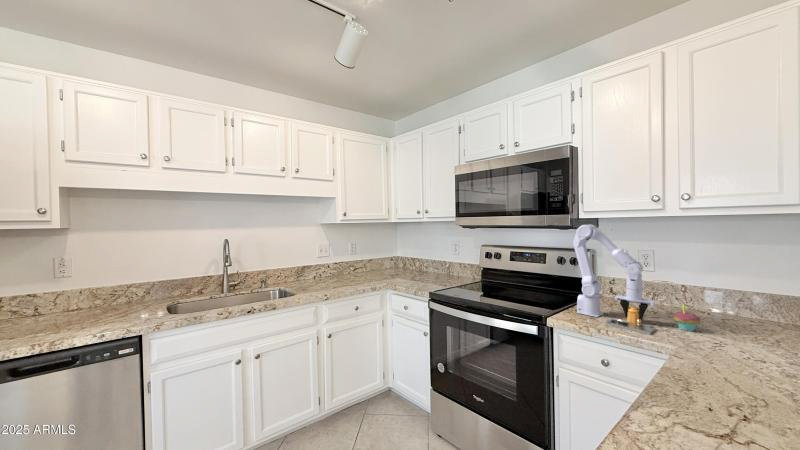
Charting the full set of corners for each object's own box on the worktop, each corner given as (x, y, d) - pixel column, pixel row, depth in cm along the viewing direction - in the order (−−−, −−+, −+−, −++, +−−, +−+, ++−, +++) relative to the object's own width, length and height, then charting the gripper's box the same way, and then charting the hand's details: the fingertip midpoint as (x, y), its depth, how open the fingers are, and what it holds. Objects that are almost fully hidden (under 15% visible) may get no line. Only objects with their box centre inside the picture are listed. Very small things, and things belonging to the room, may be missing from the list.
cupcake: (690, 333, 129) (690, 304, 129) (667, 327, 137) (668, 299, 137) (705, 331, 131) (705, 302, 131) (682, 325, 140) (682, 297, 139)
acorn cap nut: (626, 321, 144) (626, 307, 144) (629, 319, 147) (629, 305, 147) (638, 324, 141) (638, 309, 141) (641, 322, 144) (641, 307, 144)
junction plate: (605, 324, 141) (605, 315, 141) (612, 320, 147) (612, 311, 147) (650, 334, 129) (650, 324, 129) (656, 329, 134) (656, 320, 134)
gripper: (656, 290, 141) (656, 320, 141) (618, 284, 152) (618, 313, 152) (652, 292, 136) (651, 323, 137) (613, 287, 148) (613, 316, 148)
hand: (633, 318), depth 144 cm, fingers closed on acorn cap nut, 5 cm apart
